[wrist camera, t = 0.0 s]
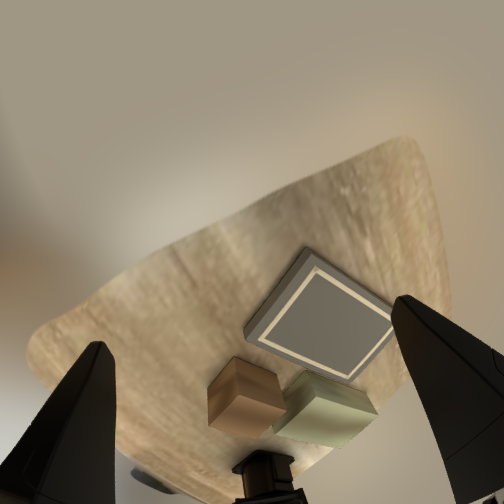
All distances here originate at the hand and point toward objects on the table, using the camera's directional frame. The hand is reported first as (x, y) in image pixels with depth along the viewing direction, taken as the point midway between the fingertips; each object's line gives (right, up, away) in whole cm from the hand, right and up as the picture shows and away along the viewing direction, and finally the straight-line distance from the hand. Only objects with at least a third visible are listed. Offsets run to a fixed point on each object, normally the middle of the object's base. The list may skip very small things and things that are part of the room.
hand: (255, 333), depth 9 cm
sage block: (+8, -15, +23) cm, 28 cm away
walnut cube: (-1, -11, +20) cm, 23 cm away
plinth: (+7, -4, +19) cm, 20 cm away
